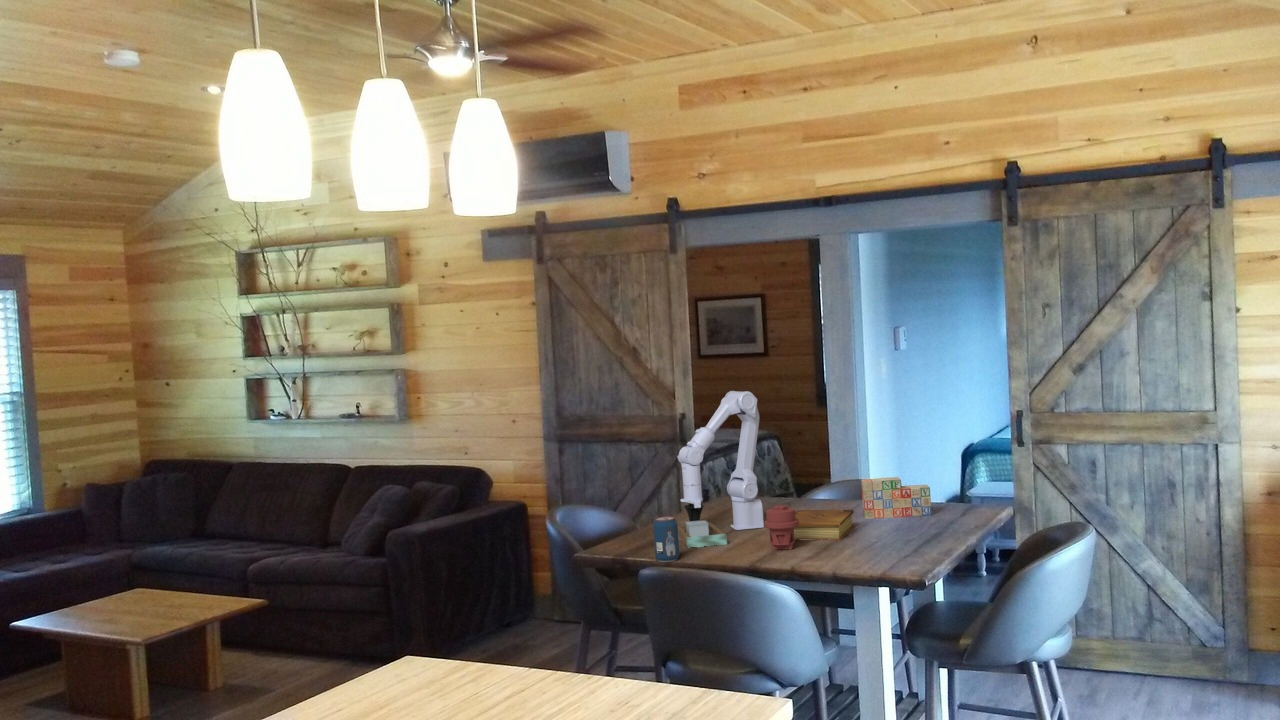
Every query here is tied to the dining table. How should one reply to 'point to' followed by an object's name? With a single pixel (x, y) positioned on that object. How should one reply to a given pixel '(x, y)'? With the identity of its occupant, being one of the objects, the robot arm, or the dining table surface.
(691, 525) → the box
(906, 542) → the dining table surface
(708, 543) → the bay
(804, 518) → the diary
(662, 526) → the soda can
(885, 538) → the dining table surface
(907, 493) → the stack of blocks
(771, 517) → the mechanical component
